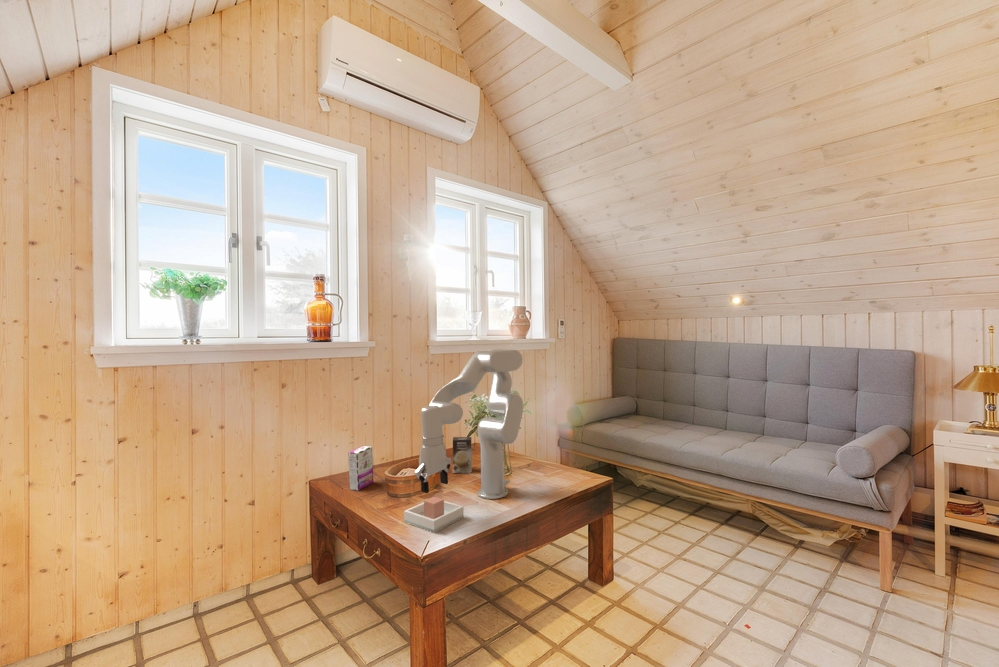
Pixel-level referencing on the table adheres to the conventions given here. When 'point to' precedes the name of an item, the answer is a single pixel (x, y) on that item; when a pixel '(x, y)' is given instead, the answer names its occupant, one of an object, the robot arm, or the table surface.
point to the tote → (418, 519)
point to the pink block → (433, 508)
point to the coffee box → (462, 455)
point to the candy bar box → (360, 468)
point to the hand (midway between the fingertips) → (434, 487)
